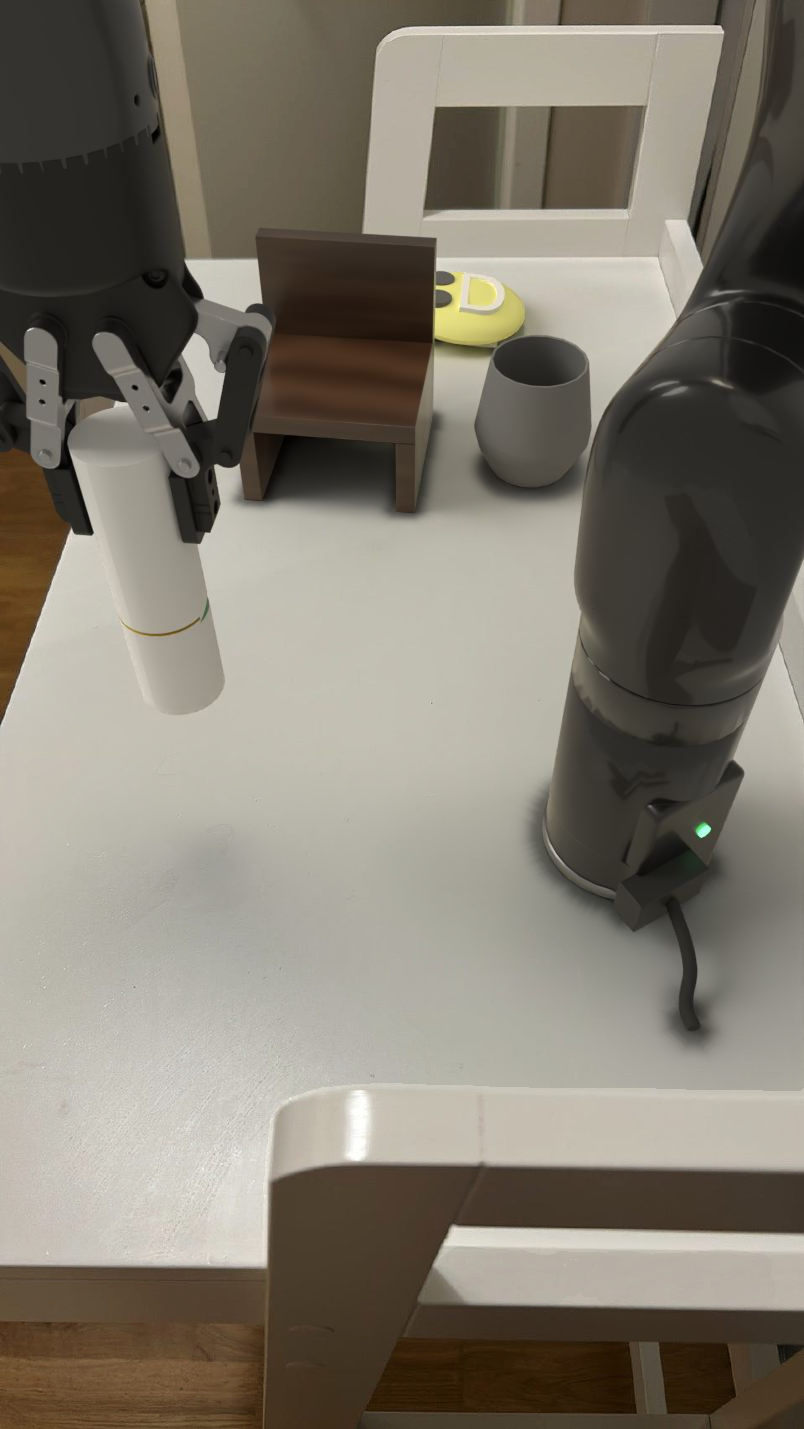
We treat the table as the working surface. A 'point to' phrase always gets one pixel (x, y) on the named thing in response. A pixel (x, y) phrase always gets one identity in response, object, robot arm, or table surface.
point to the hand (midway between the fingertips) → (144, 526)
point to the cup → (534, 409)
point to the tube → (148, 562)
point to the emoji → (475, 309)
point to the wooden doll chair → (346, 348)
